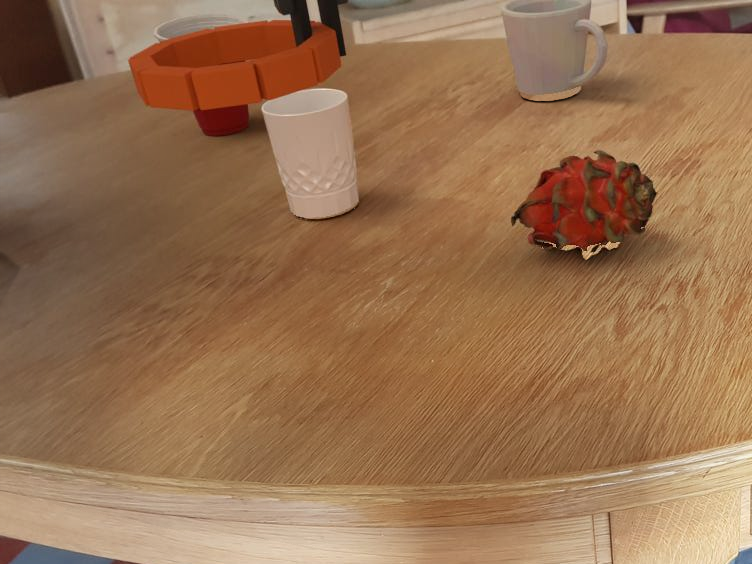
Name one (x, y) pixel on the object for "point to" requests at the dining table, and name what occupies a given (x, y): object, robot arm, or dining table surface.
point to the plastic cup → (227, 117)
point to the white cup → (314, 150)
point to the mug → (551, 44)
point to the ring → (233, 65)
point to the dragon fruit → (587, 203)
